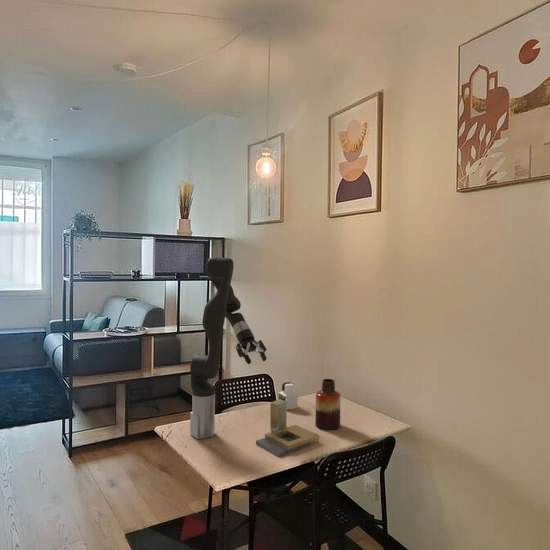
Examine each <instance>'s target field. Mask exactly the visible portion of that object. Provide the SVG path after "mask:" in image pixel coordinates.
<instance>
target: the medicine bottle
mask: <svg viewBox="0 0 550 550" xmlns="http://www.w3.org/2000/svg"><path fill="white" fill-rule="evenodd" d="M298 398H299V397H298V393H297V392H295V384H294V383H293V382H290V381H289V382H288V381H287V382H283V383H282V384H281V391H279V392H278V400H279V399H280V400H284V401H287V410H288V409H290V410H297V409H298V400H299V399H298ZM288 411H289V410H288Z"/></svg>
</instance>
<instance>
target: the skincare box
mask: <svg viewBox="0 0 550 550" xmlns="http://www.w3.org/2000/svg"><path fill="white" fill-rule="evenodd" d="M287 412H288V411H287V401H284V400H280V399H279V398H278V399H276V400H274V401H271V402H270V415H269V416H270V418H269V419H270V420H269V421H270V422H269V423H270V432H273V431H277V430H280V429H283V428H286V427H288V426H287V425H288V424H287V423H288V422H287V421H288V420H287Z"/></svg>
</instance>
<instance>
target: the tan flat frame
mask: <svg viewBox="0 0 550 550" xmlns="http://www.w3.org/2000/svg"><path fill="white" fill-rule="evenodd" d="M319 435H320V434H318V433H315V432H313V431H310V430H308V429H306V428H304V427H303V426H299V425H297V424H294V425H289V426H287V427H286V428H283V429H280V430H277V431H270V432H267V433H265V434H264V437H262V438H260V439H257V440H255V445H256V446H259V448H261V449H263V448H264V450H266V451H268V452H269V453H270V454H272V453H273V455H274V454H275V455H274V456H276V457H279V456H280V457H282V455H283V456H285V454H286V455H288V454H291V453H293V452H296V451H298V450H302V449H305V448H307V446H308V447H310V446H314V445H315V443H316V444H318V442H319V443H320V441H319V440H320V436H319ZM285 439H289V440H290V441H287V440H285ZM280 457H279V458H280Z"/></svg>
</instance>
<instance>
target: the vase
mask: <svg viewBox="0 0 550 550" xmlns="http://www.w3.org/2000/svg"><path fill="white" fill-rule="evenodd" d="M335 381H336V380H334V379H332V378H323V379H322V382H321V389H320V390H318V391H316V393H315V423H314V424H315V427H316V428H317V429H318V430H319V429H320V430H321V431H322V430H323V431H327V432H328V431H330V432H331V431H337V430H339V429H340V427H341V398H342V397H341V393H340V392H339V391H337V390H336V384H335V383H336V382H335Z"/></svg>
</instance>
